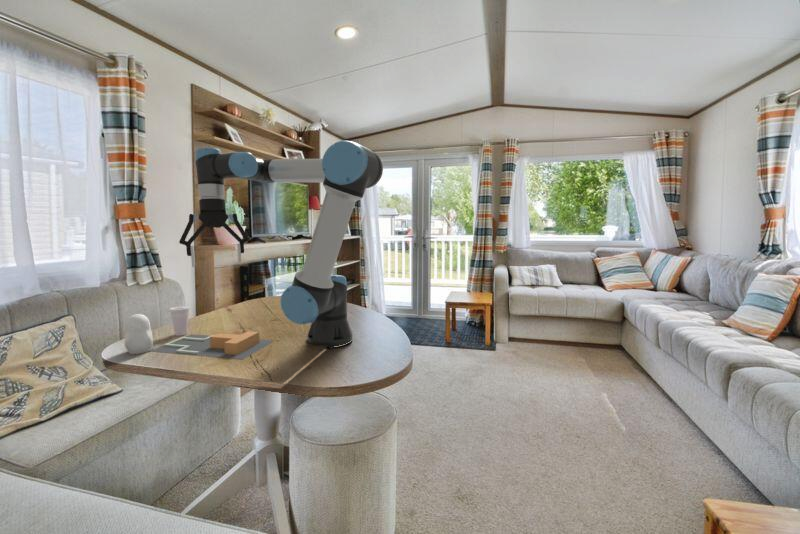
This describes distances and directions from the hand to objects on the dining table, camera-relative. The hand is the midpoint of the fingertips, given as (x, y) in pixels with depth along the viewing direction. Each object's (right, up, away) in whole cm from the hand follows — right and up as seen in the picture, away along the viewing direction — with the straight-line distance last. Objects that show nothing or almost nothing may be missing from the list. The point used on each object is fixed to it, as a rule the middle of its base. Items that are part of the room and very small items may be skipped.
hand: (217, 264), depth 124 cm
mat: (0, -27, -2) cm, 27 cm away
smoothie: (-19, -25, +13) cm, 34 cm away
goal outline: (-7, -26, -1) cm, 27 cm away
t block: (+6, -26, -4) cm, 27 cm away
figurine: (-22, -27, -5) cm, 35 cm away
